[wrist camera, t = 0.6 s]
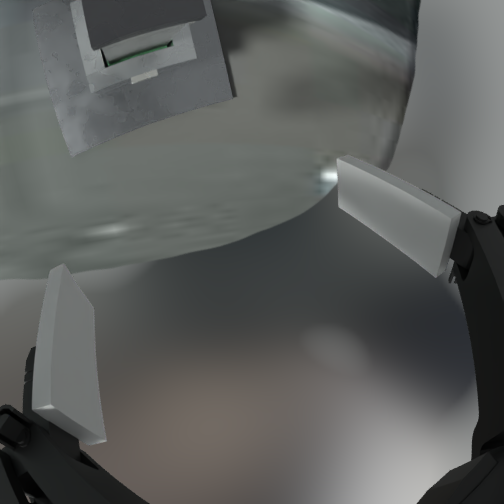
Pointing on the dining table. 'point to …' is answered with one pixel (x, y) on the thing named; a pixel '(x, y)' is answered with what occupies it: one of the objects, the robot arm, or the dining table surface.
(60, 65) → the stand
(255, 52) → the dining table surface
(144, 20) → the column
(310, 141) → the dining table surface
